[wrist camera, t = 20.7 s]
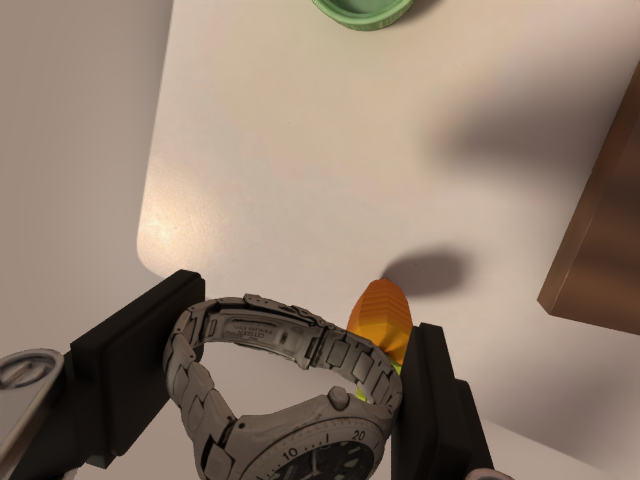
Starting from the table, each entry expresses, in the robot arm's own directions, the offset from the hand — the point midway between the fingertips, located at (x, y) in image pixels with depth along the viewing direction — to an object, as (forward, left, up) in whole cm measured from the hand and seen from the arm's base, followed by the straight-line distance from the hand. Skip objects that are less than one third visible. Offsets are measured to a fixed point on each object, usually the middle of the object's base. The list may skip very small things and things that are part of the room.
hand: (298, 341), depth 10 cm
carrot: (-7, -4, -22) cm, 23 cm away
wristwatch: (0, 0, -1) cm, 1 cm away
